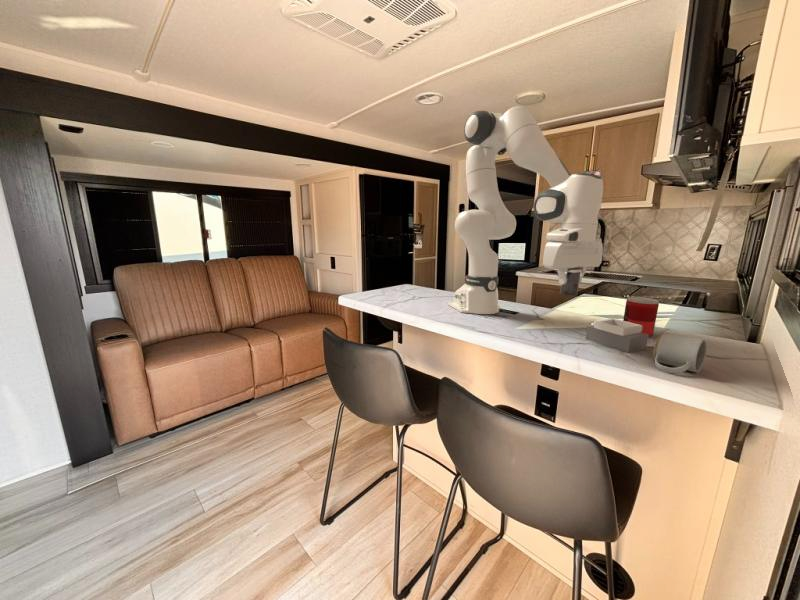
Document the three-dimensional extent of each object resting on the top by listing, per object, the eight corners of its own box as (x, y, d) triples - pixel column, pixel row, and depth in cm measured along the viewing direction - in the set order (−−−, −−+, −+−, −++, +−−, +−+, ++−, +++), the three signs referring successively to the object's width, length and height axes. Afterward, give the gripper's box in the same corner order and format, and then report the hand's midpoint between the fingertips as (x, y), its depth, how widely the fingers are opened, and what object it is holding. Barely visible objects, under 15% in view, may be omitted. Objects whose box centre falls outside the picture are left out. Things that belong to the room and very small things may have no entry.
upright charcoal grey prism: (556, 292, 92) (560, 265, 90) (567, 291, 94) (571, 265, 92) (570, 296, 88) (574, 268, 86) (581, 294, 90) (585, 267, 88)
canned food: (659, 337, 94) (666, 302, 92) (633, 337, 94) (639, 301, 92) (640, 329, 102) (645, 296, 99) (615, 329, 102) (621, 296, 99)
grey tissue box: (585, 338, 93) (588, 319, 91) (602, 335, 96) (605, 316, 94) (628, 352, 82) (632, 330, 81) (646, 348, 85) (650, 327, 84)
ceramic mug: (660, 356, 79) (665, 328, 78) (703, 368, 73) (710, 337, 71) (644, 367, 73) (649, 336, 72) (689, 380, 67) (696, 347, 65)
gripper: (591, 234, 94) (583, 279, 97) (542, 234, 85) (535, 283, 89) (612, 235, 88) (603, 283, 91) (562, 235, 80) (554, 287, 83)
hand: (569, 283), depth 90 cm, fingers closed on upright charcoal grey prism, 4 cm apart
